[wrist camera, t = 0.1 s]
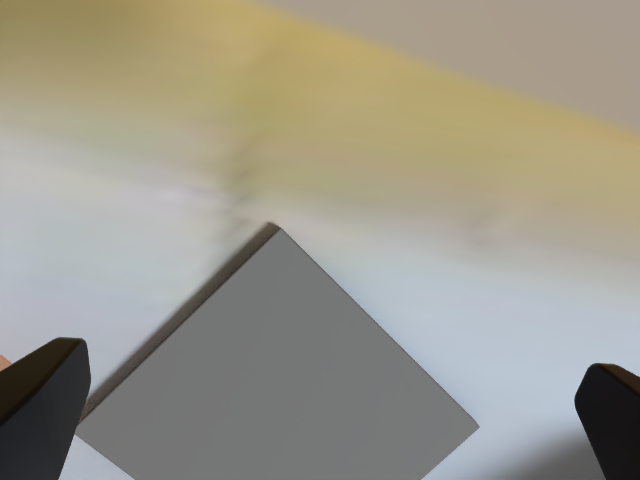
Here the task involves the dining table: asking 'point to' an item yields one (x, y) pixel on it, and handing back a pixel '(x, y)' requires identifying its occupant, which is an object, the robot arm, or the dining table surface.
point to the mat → (277, 389)
